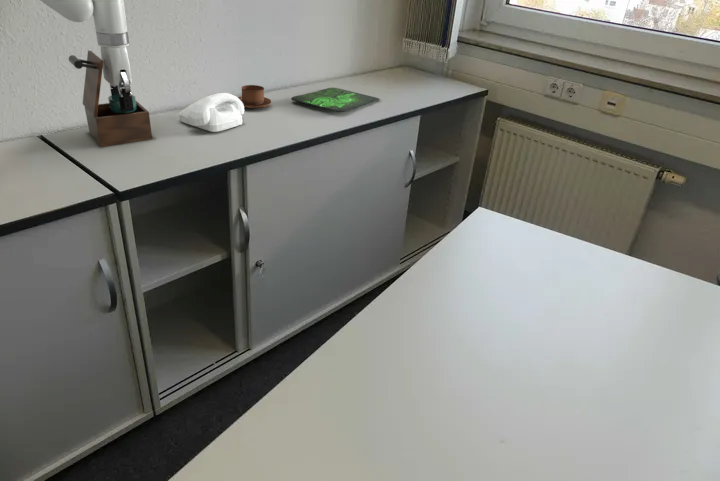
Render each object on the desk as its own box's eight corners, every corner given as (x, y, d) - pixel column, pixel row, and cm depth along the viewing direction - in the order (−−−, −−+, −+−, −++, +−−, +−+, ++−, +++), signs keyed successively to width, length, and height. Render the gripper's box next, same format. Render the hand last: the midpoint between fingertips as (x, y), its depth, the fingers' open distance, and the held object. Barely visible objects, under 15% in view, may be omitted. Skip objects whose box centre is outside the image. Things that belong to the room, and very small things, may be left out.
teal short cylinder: (115, 104, 151) (113, 93, 149) (140, 106, 152) (138, 94, 150) (106, 112, 145) (104, 100, 144) (132, 114, 146) (130, 102, 144)
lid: (91, 50, 142) (66, 46, 139) (103, 61, 135) (78, 56, 131) (85, 104, 147) (61, 101, 144) (97, 117, 140) (72, 114, 136)
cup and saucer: (227, 104, 181) (226, 85, 178) (256, 99, 189) (255, 81, 186) (249, 113, 174) (249, 94, 171) (278, 107, 183) (278, 89, 180)
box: (139, 126, 159) (135, 99, 155) (152, 138, 151) (148, 111, 147) (89, 133, 151) (84, 105, 147) (101, 147, 144) (95, 118, 140)
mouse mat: (332, 88, 208) (332, 85, 207) (382, 99, 198) (382, 97, 198) (288, 100, 187) (288, 97, 186) (341, 114, 178) (341, 111, 177)
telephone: (253, 121, 169) (252, 91, 165) (205, 136, 154) (203, 103, 149) (216, 110, 176) (215, 81, 171) (167, 123, 161) (164, 92, 156)
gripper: (88, 32, 143) (99, 99, 152) (107, 46, 131) (118, 118, 140) (118, 31, 147) (127, 96, 156) (138, 45, 135) (147, 114, 144)
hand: (123, 106), depth 148 cm, fingers closed on teal short cylinder, 6 cm apart
